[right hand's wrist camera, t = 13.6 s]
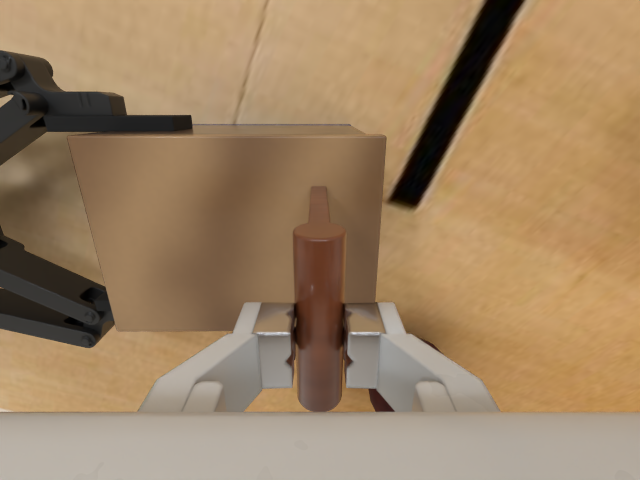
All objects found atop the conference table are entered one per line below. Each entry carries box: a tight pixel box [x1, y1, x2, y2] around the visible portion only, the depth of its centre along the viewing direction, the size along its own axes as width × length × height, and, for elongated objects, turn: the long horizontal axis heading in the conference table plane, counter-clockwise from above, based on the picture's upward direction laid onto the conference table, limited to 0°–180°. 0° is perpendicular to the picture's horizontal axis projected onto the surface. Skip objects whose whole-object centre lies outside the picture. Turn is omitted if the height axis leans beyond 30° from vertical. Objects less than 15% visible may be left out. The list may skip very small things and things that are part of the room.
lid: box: [67, 134, 386, 412], centre depth 13 cm, size 14×10×8 cm
